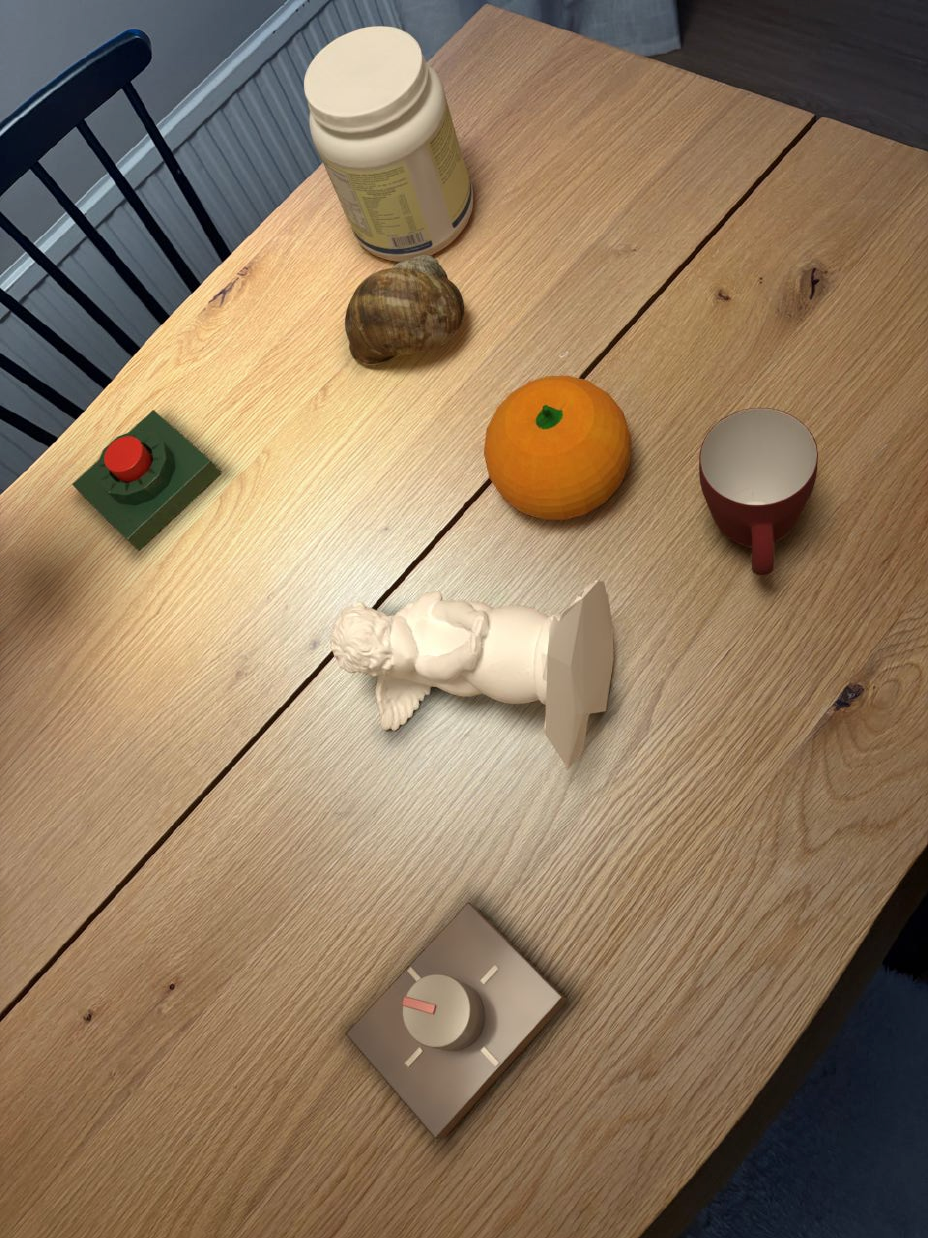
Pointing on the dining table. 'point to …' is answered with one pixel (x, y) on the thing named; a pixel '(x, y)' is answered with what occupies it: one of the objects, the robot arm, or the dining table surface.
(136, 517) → the box
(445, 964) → the dial panel
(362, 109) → the supplement tub
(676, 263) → the dining table surface
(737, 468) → the mug
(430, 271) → the seashell
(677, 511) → the dining table surface
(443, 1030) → the dial
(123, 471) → the button
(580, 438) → the fruit
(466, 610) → the angel figurine
